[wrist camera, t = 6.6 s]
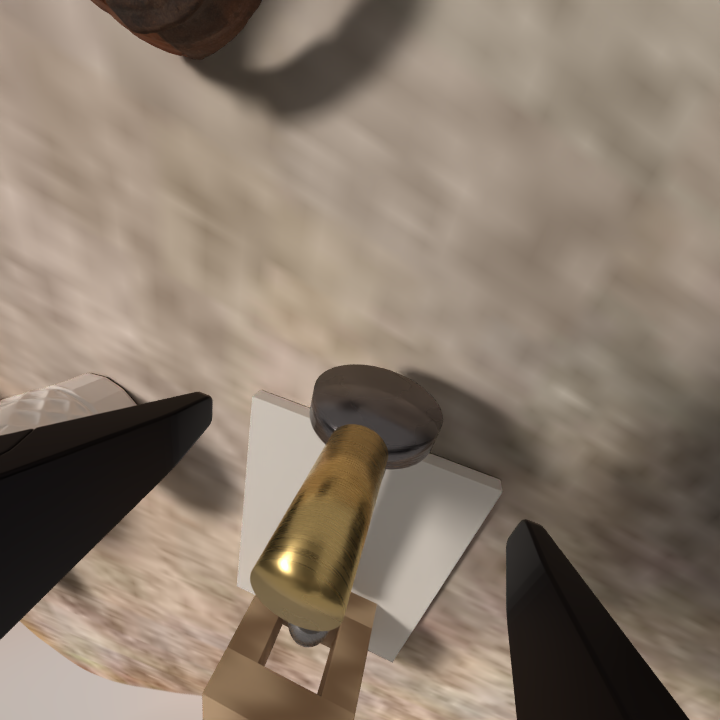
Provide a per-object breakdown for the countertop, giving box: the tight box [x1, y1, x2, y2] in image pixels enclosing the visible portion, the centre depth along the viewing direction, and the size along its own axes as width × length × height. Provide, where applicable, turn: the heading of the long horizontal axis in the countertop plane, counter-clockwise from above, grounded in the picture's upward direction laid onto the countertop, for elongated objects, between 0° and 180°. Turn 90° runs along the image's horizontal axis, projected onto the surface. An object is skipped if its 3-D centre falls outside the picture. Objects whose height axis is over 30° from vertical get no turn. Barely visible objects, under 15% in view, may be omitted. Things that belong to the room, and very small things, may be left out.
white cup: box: [0, 373, 137, 435], centre depth 18 cm, size 8×8×10 cm
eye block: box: [202, 592, 377, 720], centre depth 20 cm, size 8×5×8 cm, turn 77°
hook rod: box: [250, 365, 443, 647], centre depth 13 cm, size 5×18×9 cm, turn 167°
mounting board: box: [237, 390, 503, 662], centre depth 21 cm, size 14×20×1 cm
